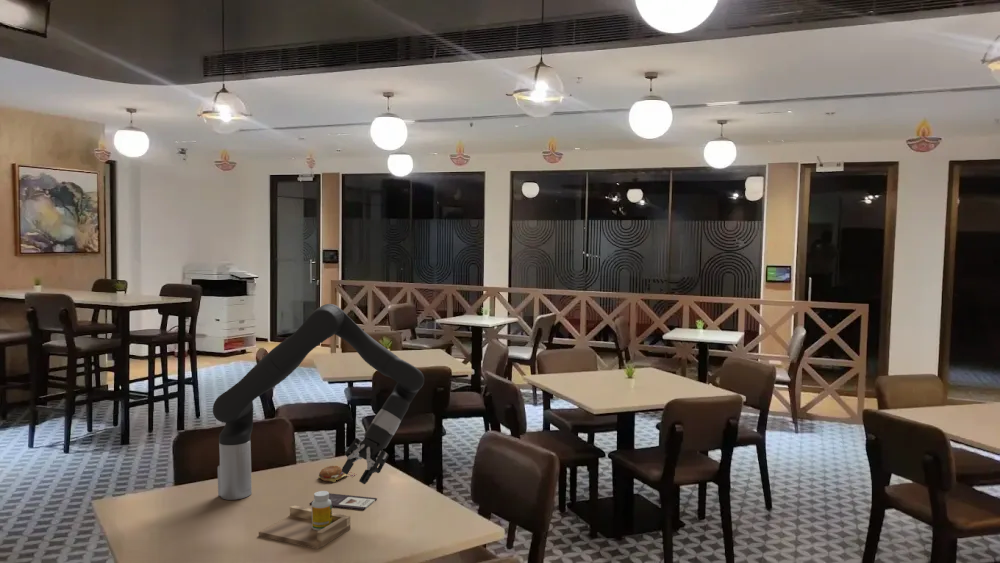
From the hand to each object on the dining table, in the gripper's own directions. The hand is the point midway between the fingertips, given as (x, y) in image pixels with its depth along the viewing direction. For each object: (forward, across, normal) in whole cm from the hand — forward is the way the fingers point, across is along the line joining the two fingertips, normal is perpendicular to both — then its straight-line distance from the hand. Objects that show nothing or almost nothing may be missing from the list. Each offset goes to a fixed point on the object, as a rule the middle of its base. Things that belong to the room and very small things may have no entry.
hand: (352, 477), depth 202 cm
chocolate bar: (+8, -11, +13) cm, 19 cm away
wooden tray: (+19, 0, -4) cm, 19 cm away
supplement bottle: (+15, +3, -3) cm, 16 cm away
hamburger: (+2, -32, +24) cm, 40 cm away
